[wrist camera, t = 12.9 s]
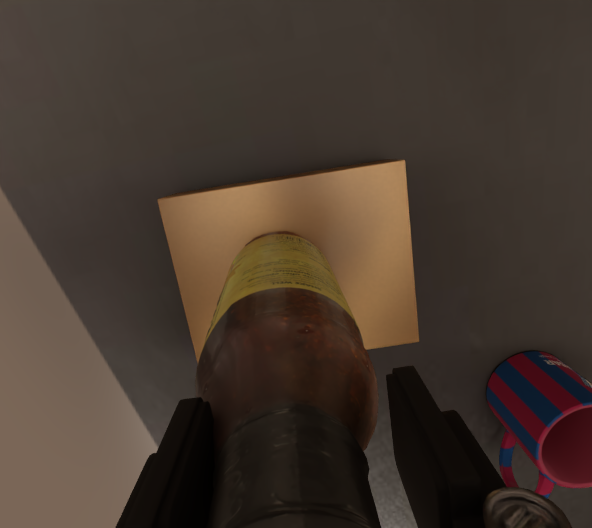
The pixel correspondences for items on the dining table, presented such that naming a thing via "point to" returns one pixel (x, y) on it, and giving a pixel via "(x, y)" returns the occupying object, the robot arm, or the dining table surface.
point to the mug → (544, 419)
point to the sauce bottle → (287, 394)
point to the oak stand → (312, 226)
